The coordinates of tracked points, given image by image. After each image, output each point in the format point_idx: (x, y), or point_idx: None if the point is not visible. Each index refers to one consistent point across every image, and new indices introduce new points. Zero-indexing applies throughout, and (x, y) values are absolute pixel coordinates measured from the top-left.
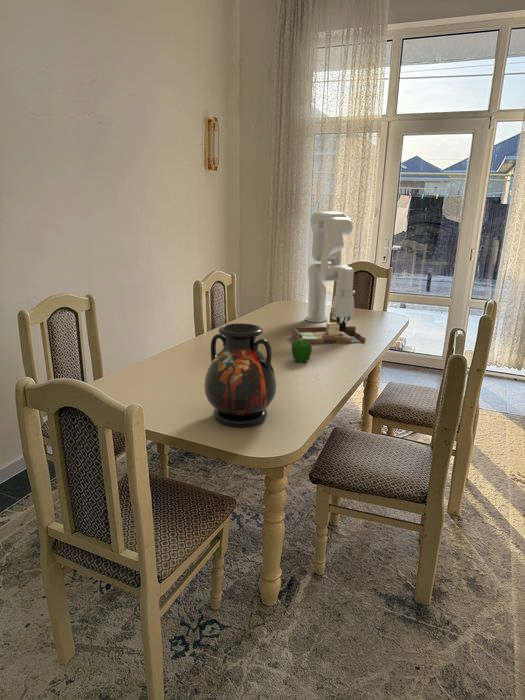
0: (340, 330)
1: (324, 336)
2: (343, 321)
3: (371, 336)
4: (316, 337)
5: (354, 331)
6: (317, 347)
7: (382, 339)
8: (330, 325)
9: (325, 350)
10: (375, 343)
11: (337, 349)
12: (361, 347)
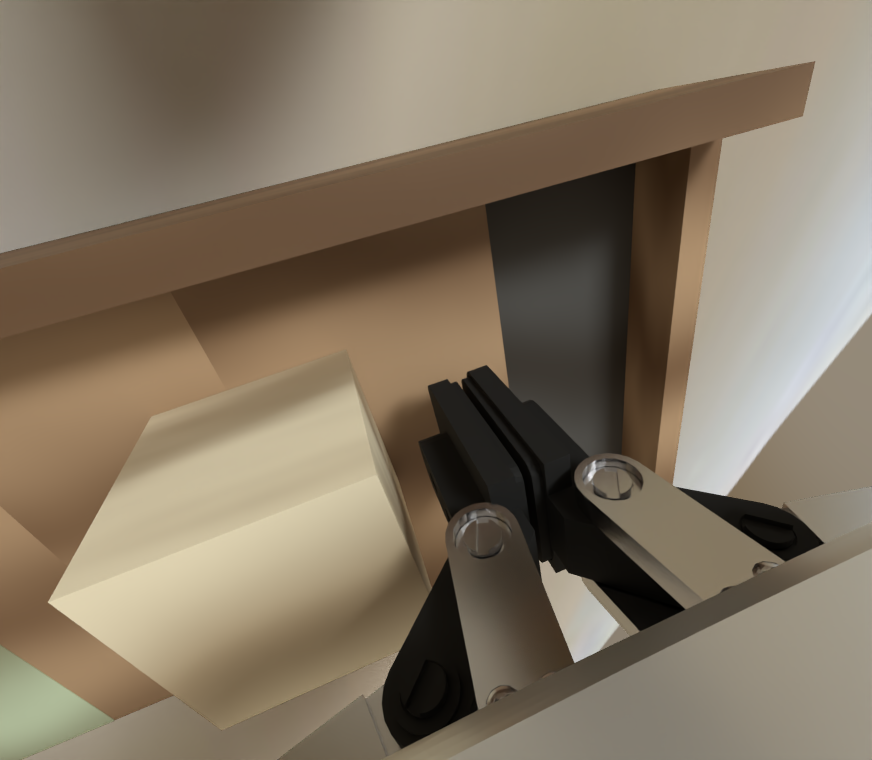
0: (440, 430)
1: None
2: (577, 553)
3: (815, 173)
4: (68, 683)
5: (681, 188)
6: (169, 715)
7: (834, 296)
8: (243, 715)
9: (262, 735)
10: (703, 446)
11: (361, 681)
12: (555, 576)
